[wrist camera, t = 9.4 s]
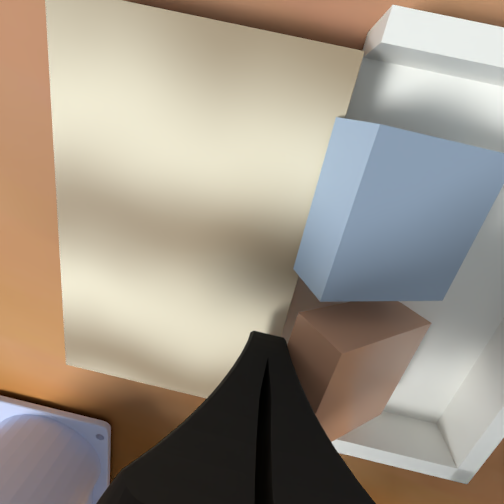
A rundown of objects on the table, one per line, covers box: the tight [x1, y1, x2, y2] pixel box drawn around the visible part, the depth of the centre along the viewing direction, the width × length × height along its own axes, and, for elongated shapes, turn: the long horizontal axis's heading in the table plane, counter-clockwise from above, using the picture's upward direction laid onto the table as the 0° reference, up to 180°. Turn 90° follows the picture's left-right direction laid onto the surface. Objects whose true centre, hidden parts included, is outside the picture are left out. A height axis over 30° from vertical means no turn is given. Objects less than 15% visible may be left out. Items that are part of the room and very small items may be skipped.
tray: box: [281, 5, 504, 484], centre depth 12 cm, size 16×9×3 cm, turn 169°
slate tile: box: [293, 117, 504, 302], centre depth 10 cm, size 5×5×2 cm
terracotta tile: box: [287, 301, 431, 442], centre depth 12 cm, size 5×5×2 cm
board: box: [45, 0, 364, 398], centre depth 13 cm, size 14×9×2 cm, turn 169°
